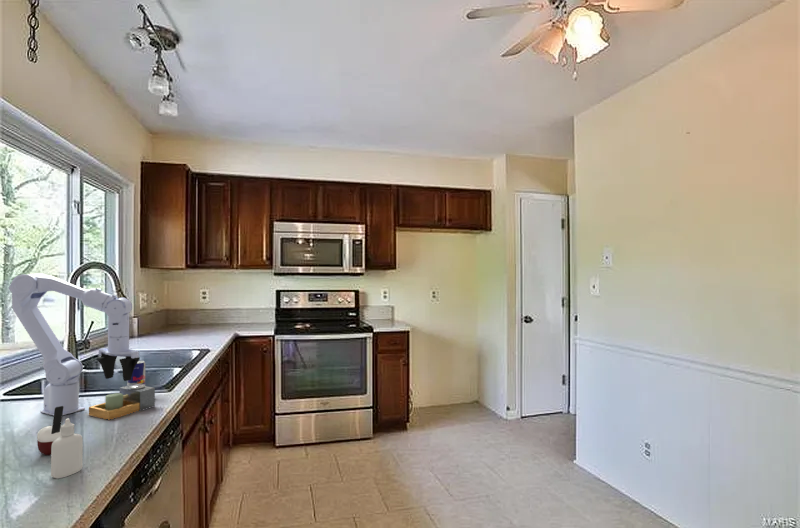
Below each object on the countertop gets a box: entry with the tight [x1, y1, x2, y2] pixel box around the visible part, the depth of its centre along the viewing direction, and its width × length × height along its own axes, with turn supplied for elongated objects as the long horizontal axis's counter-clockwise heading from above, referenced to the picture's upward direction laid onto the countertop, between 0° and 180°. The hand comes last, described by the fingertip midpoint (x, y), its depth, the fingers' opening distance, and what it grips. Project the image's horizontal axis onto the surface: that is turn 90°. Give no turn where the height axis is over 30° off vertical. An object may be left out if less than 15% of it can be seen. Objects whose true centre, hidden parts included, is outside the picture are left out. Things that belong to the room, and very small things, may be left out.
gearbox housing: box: [88, 384, 156, 421], centre depth 142 cm, size 10×15×7 cm
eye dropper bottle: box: [50, 418, 84, 480], centre depth 100 cm, size 4×6×12 cm
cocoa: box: [36, 406, 64, 456], centre depth 111 cm, size 10×6×12 cm, turn 28°
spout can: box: [104, 392, 128, 410], centre depth 140 cm, size 5×7×6 cm
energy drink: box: [126, 360, 146, 386], centre depth 157 cm, size 5×5×12 cm
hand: (118, 379), depth 144 cm, fingers open, 7 cm apart
